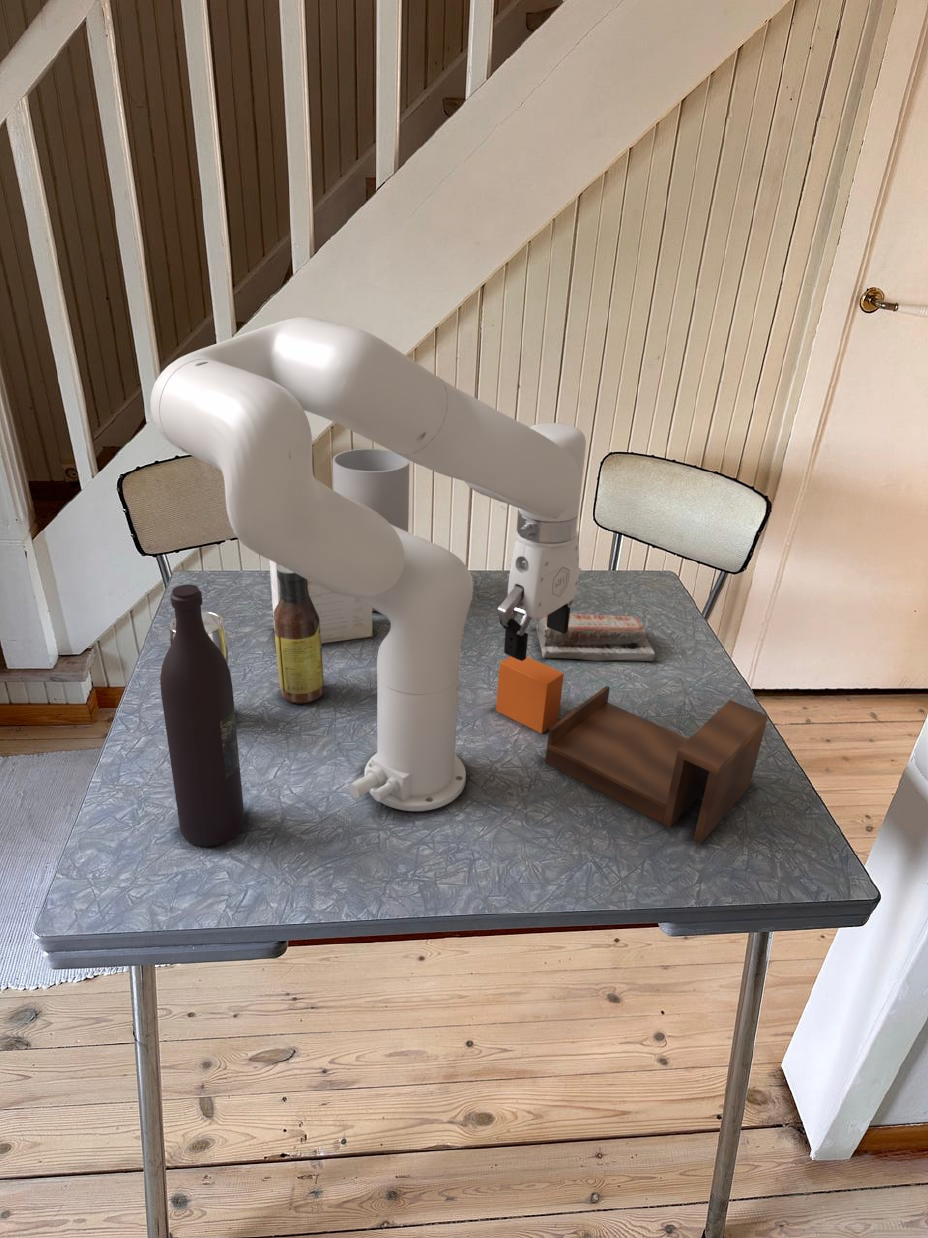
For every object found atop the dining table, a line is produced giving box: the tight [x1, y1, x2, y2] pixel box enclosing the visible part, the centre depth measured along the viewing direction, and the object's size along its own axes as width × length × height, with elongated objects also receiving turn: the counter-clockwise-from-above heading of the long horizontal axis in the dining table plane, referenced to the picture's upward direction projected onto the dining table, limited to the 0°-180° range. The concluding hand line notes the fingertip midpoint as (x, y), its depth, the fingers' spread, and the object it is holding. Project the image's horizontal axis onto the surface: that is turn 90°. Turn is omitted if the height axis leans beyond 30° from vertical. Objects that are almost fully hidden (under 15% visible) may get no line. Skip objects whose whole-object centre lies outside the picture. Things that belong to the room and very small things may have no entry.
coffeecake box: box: [268, 559, 374, 644], centre depth 132 cm, size 15×7×20 cm, turn 111°
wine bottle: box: [159, 584, 245, 847], centre depth 89 cm, size 7×7×30 cm
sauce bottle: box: [273, 565, 325, 704], centre depth 116 cm, size 6×6×20 cm
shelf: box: [544, 685, 769, 844], centre depth 105 cm, size 14×22×11 cm, turn 50°
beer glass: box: [169, 610, 229, 666], centre depth 110 cm, size 7×7×15 cm
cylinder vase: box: [332, 448, 411, 612], centre depth 143 cm, size 12×12×25 cm
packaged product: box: [535, 613, 656, 662], centre depth 136 cm, size 18×5×10 cm
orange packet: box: [495, 656, 565, 734], centre depth 116 cm, size 4×8×8 cm, turn 50°
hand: (536, 642), depth 113 cm, fingers open, 9 cm apart
